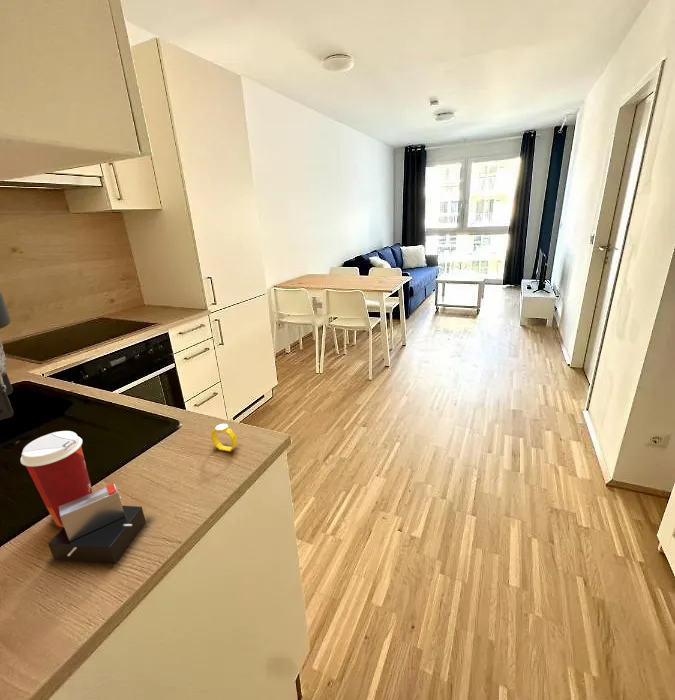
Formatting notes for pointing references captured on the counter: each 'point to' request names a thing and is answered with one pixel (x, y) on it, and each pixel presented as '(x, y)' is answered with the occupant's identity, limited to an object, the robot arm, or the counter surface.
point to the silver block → (91, 512)
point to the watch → (225, 428)
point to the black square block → (100, 540)
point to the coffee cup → (57, 469)
